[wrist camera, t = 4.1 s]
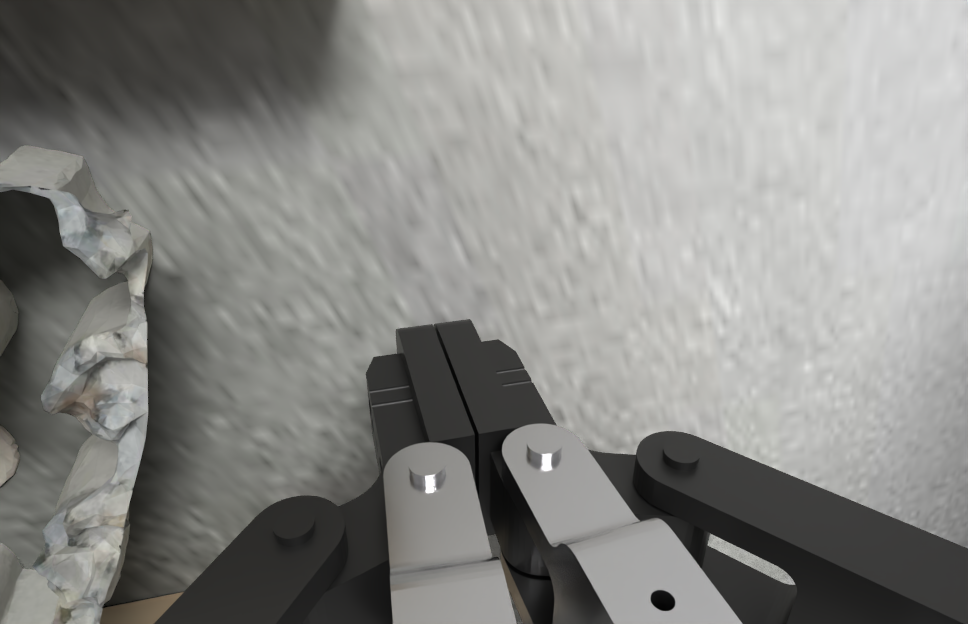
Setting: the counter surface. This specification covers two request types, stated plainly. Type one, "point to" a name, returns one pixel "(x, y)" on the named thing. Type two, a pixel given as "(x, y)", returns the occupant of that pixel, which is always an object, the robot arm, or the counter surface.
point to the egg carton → (83, 400)
